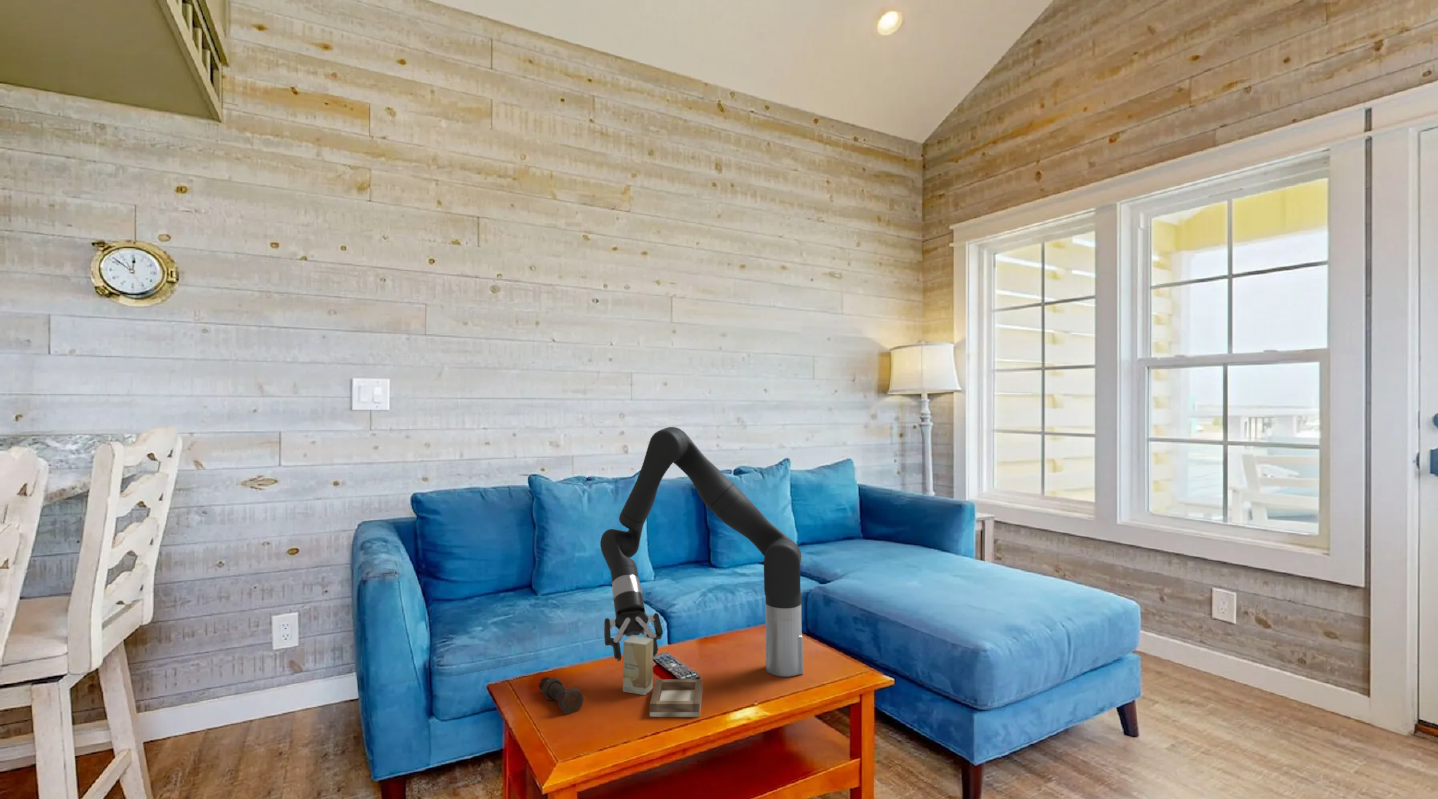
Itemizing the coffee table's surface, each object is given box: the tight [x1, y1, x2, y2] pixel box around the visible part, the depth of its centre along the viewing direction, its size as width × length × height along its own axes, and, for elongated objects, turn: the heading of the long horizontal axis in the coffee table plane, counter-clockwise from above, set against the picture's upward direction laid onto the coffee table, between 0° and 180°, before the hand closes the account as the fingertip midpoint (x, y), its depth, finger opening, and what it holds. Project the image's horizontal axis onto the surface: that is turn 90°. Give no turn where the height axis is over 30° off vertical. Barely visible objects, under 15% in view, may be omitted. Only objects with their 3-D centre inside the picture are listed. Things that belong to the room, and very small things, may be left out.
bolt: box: [538, 677, 585, 716], centre depth 154 cm, size 6×5×15 cm
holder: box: [649, 678, 703, 718], centre depth 152 cm, size 11×13×3 cm
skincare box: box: [622, 635, 654, 696], centre depth 159 cm, size 6×4×12 cm
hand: (637, 657), depth 160 cm, fingers open, 8 cm apart
